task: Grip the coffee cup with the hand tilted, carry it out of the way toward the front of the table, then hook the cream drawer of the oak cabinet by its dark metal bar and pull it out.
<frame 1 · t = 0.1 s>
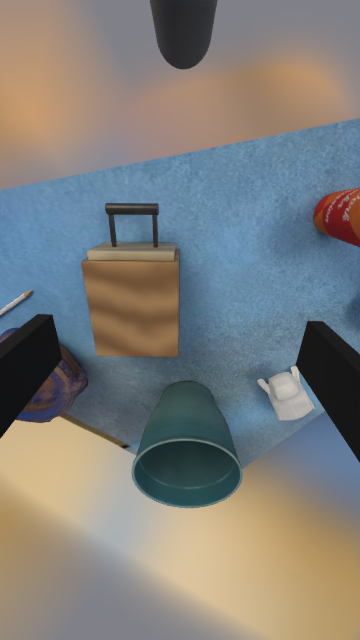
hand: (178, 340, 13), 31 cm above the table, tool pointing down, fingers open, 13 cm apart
white turtle figurine: (279, 381, 53), on the table
bowl: (47, 358, 51), on the table
coffee cup: (331, 213, 38), on the table
drawer: (137, 273, 38), point 5 cm above the table, slide at 0.0 cm, touching cabinet
flower pot: (186, 400, 56), on the table
cabinet: (144, 291, 44), on the table
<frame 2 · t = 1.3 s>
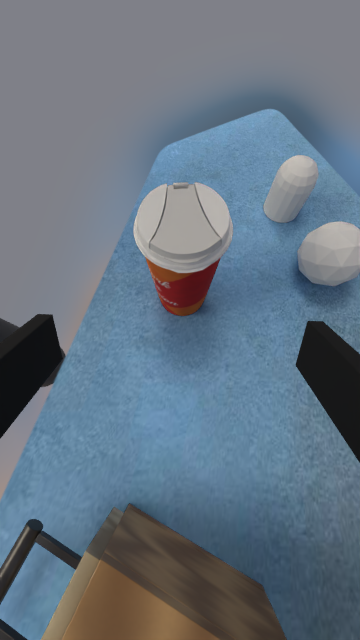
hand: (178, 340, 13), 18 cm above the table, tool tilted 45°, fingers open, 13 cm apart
coffee cup: (182, 296, 33), on the table
drawer: (105, 635, 19), point 5 cm above the table, slide at 0.0 cm, touching cabinet
capsule: (280, 209, 38), on the table
cabinet: (163, 618, 23), on the table
geometric ball: (315, 270, 35), on the table
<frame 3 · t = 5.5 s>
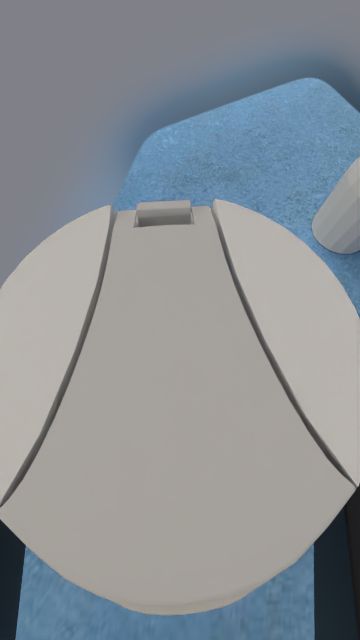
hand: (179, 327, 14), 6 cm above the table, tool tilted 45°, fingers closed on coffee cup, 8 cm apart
coffee cup: (178, 392, 19), on the table, touching gripper
capsule: (338, 231, 23), on the table
when the fingers open (6 cm above the table, at t = 12.9 s): coffee cup stays where it is, on the table.
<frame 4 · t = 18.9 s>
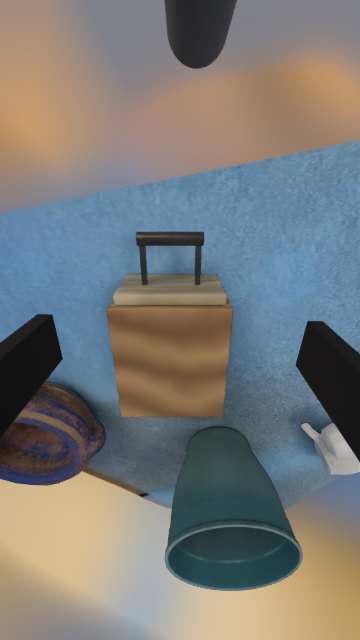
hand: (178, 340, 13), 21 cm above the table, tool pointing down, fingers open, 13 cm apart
white turtle figurine: (326, 424, 45), on the table
bowl: (55, 403, 43), on the table
drawer: (171, 314, 30), point 5 cm above the table, slide at 0.0 cm, touching cabinet
flower pot: (216, 446, 48), on the table
cabinet: (173, 329, 37), on the table
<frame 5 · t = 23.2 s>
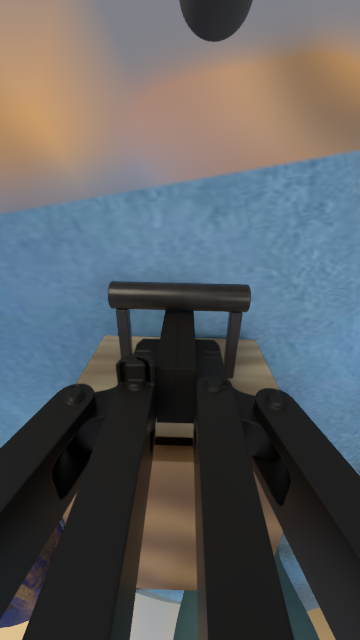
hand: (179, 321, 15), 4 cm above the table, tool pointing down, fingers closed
bowl: (9, 494, 31), on the table
drawer: (177, 415, 17), point 5 cm above the table, slide at 0.5 cm
flower pot: (231, 546, 35), on the table
cabinet: (178, 413, 24), on the table
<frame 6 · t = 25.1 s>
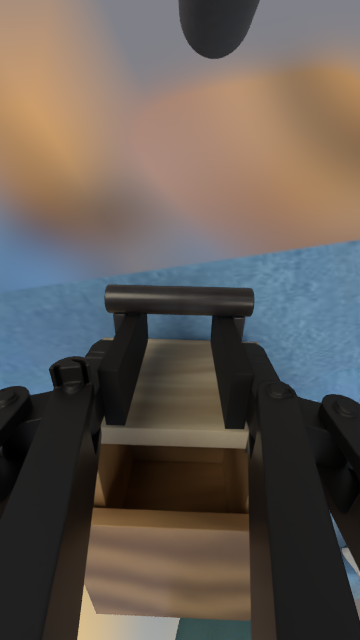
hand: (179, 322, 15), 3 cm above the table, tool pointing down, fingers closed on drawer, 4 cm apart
drawer: (177, 419, 17), point 5 cm above the table, slide at 5.7 cm, touching gripper
flower pot: (227, 560, 38), on the table
cabinet: (177, 450, 26), on the table
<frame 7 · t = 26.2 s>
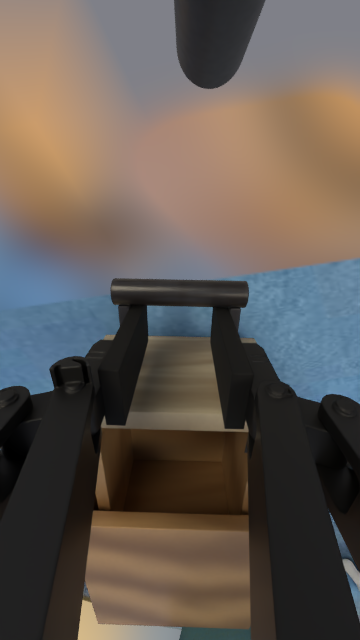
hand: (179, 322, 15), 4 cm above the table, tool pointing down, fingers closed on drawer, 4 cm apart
drawer: (177, 412, 17), point 5 cm above the table, slide at 7.1 cm, touching gripper
flower pot: (228, 574, 37), on the table
cabinet: (177, 459, 27), on the table
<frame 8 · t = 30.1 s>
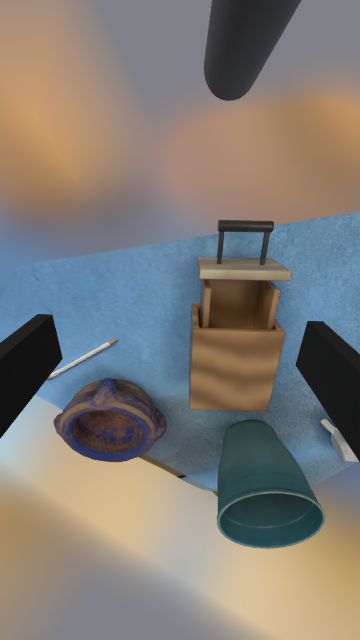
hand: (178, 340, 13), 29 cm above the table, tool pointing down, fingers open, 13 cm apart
white turtle figurine: (341, 421, 55), on the table
bowl: (120, 397, 53), on the table
drawer: (236, 290, 37), point 5 cm above the table, slide at 7.1 cm
flower pot: (247, 436, 58), on the table
cabinet: (224, 341, 46), on the table
pencil: (81, 358, 49), on the table
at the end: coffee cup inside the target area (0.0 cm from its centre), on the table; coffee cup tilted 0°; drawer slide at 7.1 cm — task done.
